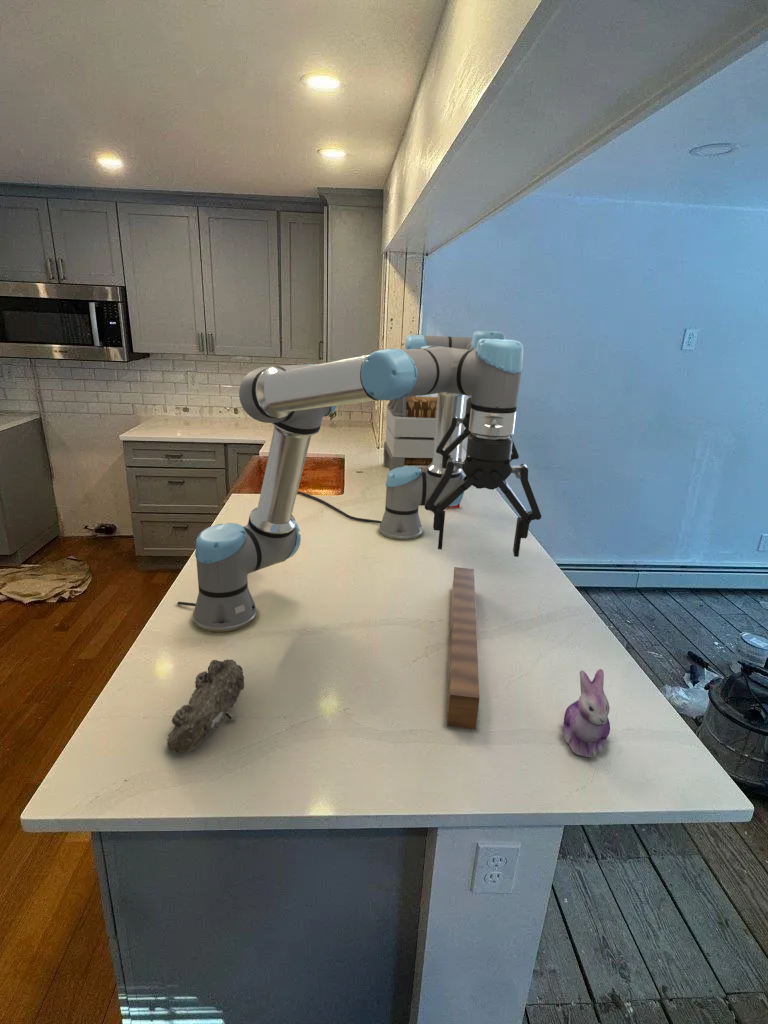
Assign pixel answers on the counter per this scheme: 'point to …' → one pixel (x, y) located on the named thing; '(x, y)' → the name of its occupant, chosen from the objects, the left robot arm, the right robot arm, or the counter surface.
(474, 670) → the bar
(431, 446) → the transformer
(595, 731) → the figurine
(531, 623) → the counter surface
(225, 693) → the fossil
